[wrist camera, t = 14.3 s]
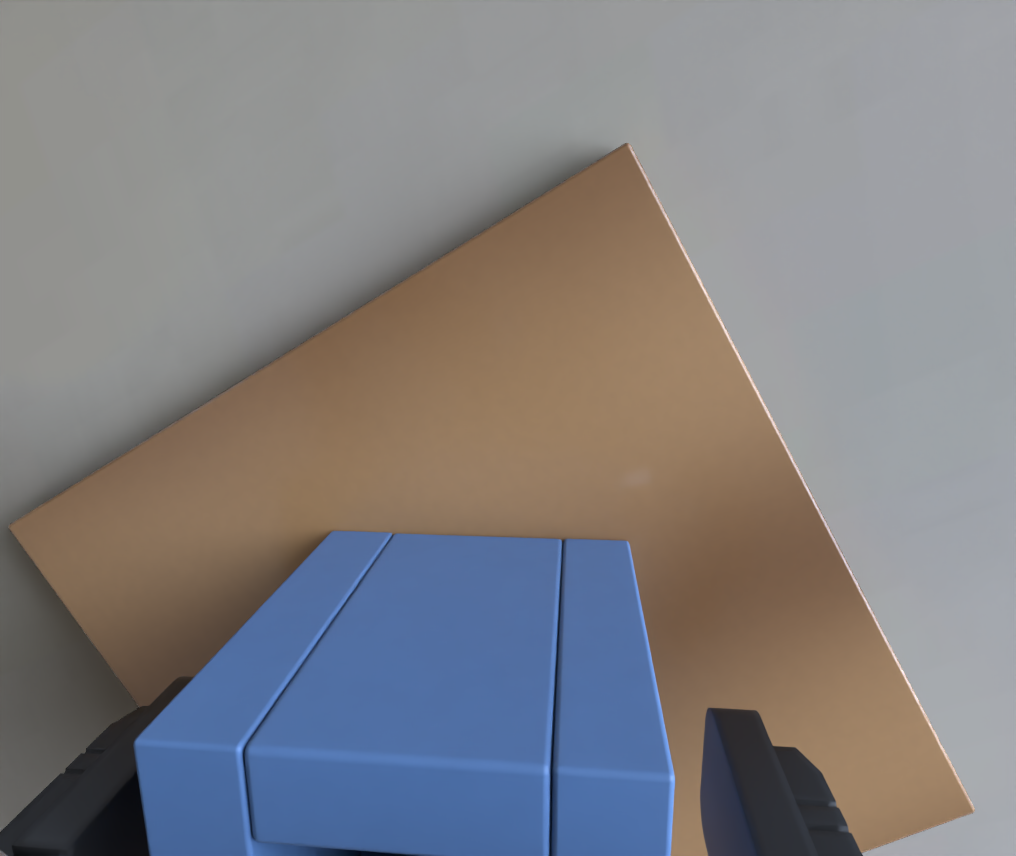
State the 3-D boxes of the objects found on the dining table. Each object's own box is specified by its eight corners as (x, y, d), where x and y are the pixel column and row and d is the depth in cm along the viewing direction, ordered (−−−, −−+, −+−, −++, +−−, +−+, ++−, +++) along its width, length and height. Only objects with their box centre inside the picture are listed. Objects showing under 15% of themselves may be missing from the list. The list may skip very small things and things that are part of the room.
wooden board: (28, 515, 14) (4, 526, 14) (626, 146, 11) (629, 140, 11) (381, 1004, 16) (374, 1031, 16) (960, 789, 13) (978, 813, 13)
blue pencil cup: (331, 529, 13) (129, 741, 7) (629, 539, 12) (677, 778, 6) (348, 781, 14) (188, 1139, 8) (618, 800, 14) (651, 1197, 8)
